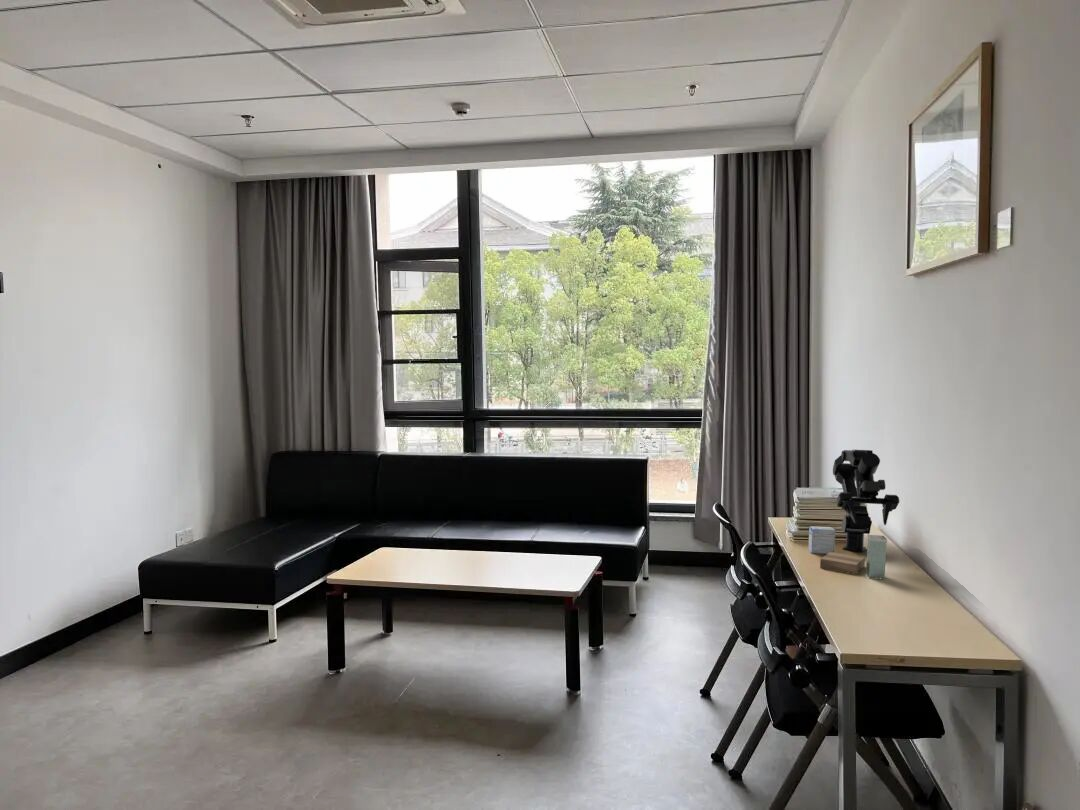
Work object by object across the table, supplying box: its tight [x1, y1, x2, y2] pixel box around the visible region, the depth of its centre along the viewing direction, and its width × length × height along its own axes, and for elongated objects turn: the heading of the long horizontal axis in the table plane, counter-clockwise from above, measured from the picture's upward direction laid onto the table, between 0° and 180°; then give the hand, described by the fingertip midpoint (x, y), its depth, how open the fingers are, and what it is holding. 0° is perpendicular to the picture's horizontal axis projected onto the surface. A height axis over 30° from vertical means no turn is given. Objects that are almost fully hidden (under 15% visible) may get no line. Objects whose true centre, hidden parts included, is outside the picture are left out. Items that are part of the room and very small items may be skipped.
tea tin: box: [865, 534, 888, 580], centre depth 241 cm, size 5×5×13 cm
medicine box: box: [807, 525, 836, 555], centre depth 269 cm, size 8×4×9 cm, turn 84°
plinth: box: [819, 551, 866, 575], centre depth 251 cm, size 11×11×3 cm
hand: (870, 523), depth 253 cm, fingers open, 9 cm apart
